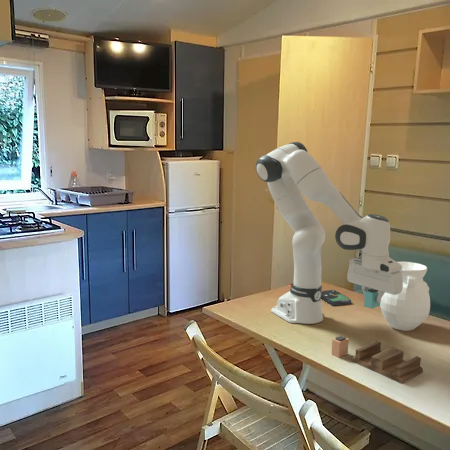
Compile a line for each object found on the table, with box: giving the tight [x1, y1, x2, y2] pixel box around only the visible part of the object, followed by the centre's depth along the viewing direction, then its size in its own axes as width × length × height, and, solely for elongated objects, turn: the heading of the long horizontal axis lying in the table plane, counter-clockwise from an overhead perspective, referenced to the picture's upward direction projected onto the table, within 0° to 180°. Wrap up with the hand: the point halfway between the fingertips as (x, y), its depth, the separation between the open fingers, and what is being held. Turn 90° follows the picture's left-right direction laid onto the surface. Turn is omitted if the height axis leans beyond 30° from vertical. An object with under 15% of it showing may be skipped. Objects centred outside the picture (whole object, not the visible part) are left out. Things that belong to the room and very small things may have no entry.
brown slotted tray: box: [351, 340, 424, 384], centre depth 152 cm, size 18×12×4 cm, turn 38°
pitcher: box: [379, 261, 431, 332], centre depth 184 cm, size 19×18×25 cm
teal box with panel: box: [363, 288, 380, 309], centre depth 164 cm, size 3×5×6 cm, turn 128°
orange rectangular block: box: [331, 335, 350, 359], centre depth 160 cm, size 3×5×6 cm, turn 128°
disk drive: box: [321, 289, 352, 307], centre depth 217 cm, size 10×3×15 cm
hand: (372, 300), depth 164 cm, fingers closed on teal box with panel, 3 cm apart
